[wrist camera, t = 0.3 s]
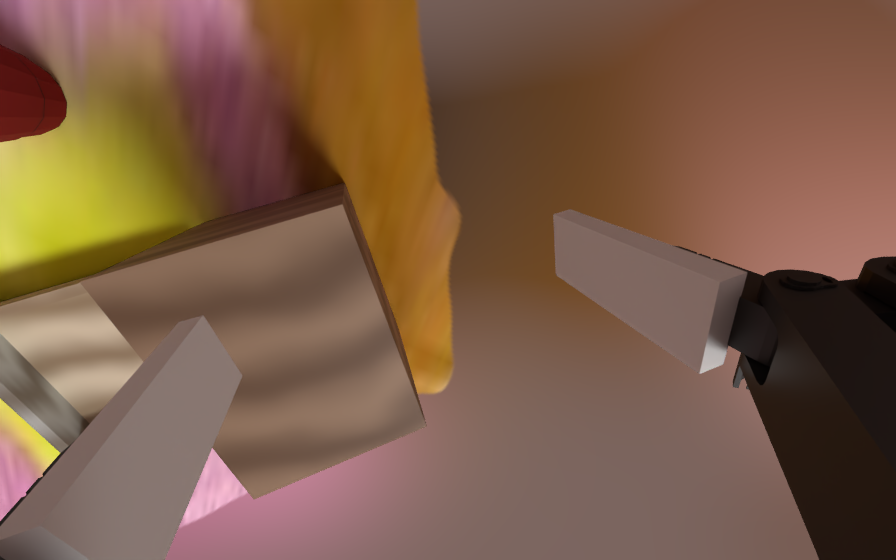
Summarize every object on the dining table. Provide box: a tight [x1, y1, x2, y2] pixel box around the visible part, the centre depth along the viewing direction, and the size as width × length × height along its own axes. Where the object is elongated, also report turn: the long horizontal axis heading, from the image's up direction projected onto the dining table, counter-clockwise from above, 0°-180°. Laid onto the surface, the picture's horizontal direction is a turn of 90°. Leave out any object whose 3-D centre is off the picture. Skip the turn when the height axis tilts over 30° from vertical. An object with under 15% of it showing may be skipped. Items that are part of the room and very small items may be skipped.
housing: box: [80, 183, 427, 499], centre depth 31 cm, size 20×14×17 cm
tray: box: [0, 274, 143, 453], centre depth 33 cm, size 20×20×4 cm
